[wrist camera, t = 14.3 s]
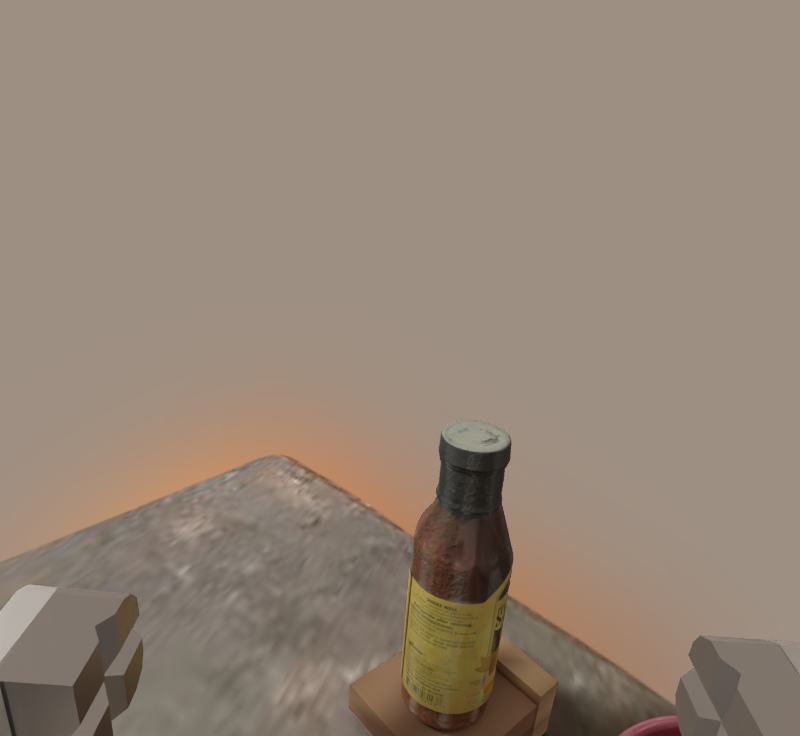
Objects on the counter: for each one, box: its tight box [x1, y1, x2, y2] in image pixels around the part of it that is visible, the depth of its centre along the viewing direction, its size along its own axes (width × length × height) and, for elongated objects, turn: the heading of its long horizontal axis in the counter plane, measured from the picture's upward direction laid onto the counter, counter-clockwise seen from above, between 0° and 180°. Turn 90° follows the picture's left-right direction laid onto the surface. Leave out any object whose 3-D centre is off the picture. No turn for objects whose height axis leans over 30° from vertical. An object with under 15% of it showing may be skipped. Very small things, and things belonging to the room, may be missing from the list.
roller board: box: [349, 636, 559, 736], centre depth 44 cm, size 9×11×5 cm
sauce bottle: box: [400, 420, 513, 730], centre depth 39 cm, size 6×6×20 cm
